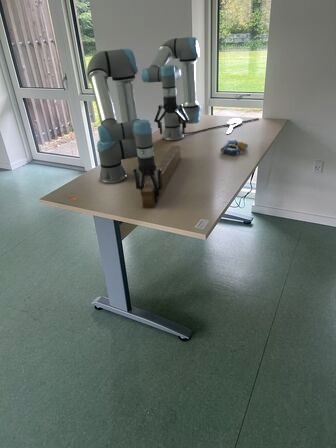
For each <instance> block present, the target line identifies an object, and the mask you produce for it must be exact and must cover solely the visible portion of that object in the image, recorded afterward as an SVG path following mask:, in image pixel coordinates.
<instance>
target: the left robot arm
mask: <svg viewBox="0 0 336 448" xmlns="http://www.w3.org/2000/svg"><path fill="white" fill-rule="evenodd" d="M135 56H136V55H135V53H134V52H133V50H132V49H130V48H120V49H113V50H112V49H111V50H101V51H98V52H96V53H95V54H94V55H93V56H92V57H91V58H90V60H89V61H88V65H87V68H86V77H87V81H88V83H89V84H90V85H91V88H92V93H93V98H94V101H95V106H96V110H97V114H98V119H99V123H100V125H99V126H97V132H98V137H99V140H98V141H97V143H96V148H97V152H98V158H99V163H100V173H99V180H100V183H102V184H107V185H112V184H119V183H122V182H124V181H125V180H126V179H127V178H128V174H127V172H126V169H125V168H124V166H123V164H122V160H128V159H135V158H137V162H138V163H137V164H138V167H134V168H133V170H132V172H133V174H134V180H135V188H136V189H137V190H140V192H141V191H142V189H143V188H144V186H145V184H146V183H145V182H146V177H149V179H150V178H151V179H152V182H153V184H154V187H155V191H154V193H155V203H156V204H158V203H159V199H158V196H159V195H160V192H159V190H161V189H162V187H163V183H162V174H161V172H162V168H160V169H159V168H157V167H158V166H157V165H156V159H155V151H154V149H155V148H154V141H153V128H152V123H151V120H149V119H140V118H138V111H137V105H136V104H137V103H136V95H135V87H134V81H135V80H136V75H137V74H138V72H139V70H138V63H137V59H136V57H135ZM109 78H111V80H112V82H113V83H114V84H115V86H116V93H117V100H118V105H119V112H120V119H121V122H118V119H117V116H116V112H115V107H114V104H113V100H112V96H111V92H110V88H109V84H108V80H109ZM155 170H156V171H157V173H158V183H159V185H158V183H157V180H156V177H155V173H154V172H155ZM140 173H141V180H140ZM140 195H141V197H142V194H141V193H140ZM160 196H161V195H160Z"/></svg>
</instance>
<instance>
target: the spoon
mask: <svg viewBox="0 0 336 448" xmlns="http://www.w3.org/2000/svg"><path fill="white" fill-rule="evenodd" d="M242 121H243V119H242V118H239V117H238V118H237V117H235V118H231V119H229V120H228V121H227V124H228V125H227V126H229V128H228V129H227V131H226V134H227V135H229V134H232V131H233V128H234V127H237V126H239V125H241V124H242V123H241V122H242ZM236 122H238V123H236ZM231 123H236V124H231Z"/></svg>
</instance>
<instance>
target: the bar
mask: <svg viewBox="0 0 336 448" xmlns="http://www.w3.org/2000/svg"><path fill="white" fill-rule="evenodd" d="M180 161H181V148H180V145H171V146H170V147H169V148H168V150H167V151H166V153H165V155H164V156H163V157H162V159H161V161H160V162H159V164H158V165H157V166H156V167H157V168H159V169H160V168H162V172H161V174H162V183H163V187H162V189H161V190H159V192H160V195H159V196H158V200H159V199H160V198H161V195H162V194H163V191H164V190H165V188H166V186H167V184H168V182H169V180H170V179H171V177H172V175H173V174H174V171H175V170H176V168H177V167H178V164H179V163H180ZM154 173H155V177H156V180H157V183H158V173H157V171H156V170H155V172H154ZM158 185H159V183H158ZM154 191H155V187H154V184H153V182H152V179H151V178H150V177H149V178H148V180H147V182H146V183H145V184H144V188H143V189H142V191H141V190H140V195H141V194H142V196H141V201H142V208H144V209H154V208H155V206H156V205H157V203H155V193H154Z"/></svg>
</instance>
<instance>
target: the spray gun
mask: <svg viewBox="0 0 336 448" xmlns="http://www.w3.org/2000/svg"><path fill="white" fill-rule="evenodd" d="M248 147H249V145H248V143H246V142H243V141H238V140H236V139H234V140H228V139H227V142H226V143H225V144H224V145H223V146H222V147H221V149H220V153H221V154H223V155H225V154H226V155H230V156H238V155H240V154H241V152H242V150H243V151H247V149H248Z"/></svg>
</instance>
